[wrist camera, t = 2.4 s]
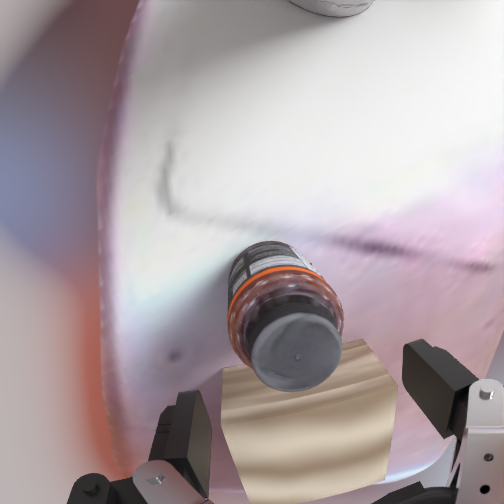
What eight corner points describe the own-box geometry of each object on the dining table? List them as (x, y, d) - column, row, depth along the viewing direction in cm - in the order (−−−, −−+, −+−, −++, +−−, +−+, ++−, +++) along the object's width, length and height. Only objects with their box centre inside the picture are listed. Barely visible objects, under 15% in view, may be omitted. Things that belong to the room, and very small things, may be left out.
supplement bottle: (301, 318, 25) (344, 411, 14) (224, 311, 24) (220, 408, 13) (314, 243, 24) (379, 298, 13) (233, 233, 23) (233, 285, 12)
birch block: (222, 368, 26) (220, 424, 19) (363, 339, 26) (397, 384, 19) (249, 457, 28) (253, 510, 22) (362, 433, 28) (384, 479, 22)
